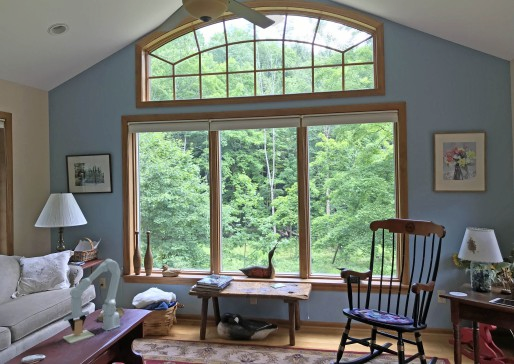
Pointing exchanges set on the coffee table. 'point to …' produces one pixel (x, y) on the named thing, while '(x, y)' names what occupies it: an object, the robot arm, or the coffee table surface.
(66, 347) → the coffee table surface
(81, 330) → the terracotta block
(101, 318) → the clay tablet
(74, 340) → the grey mat
